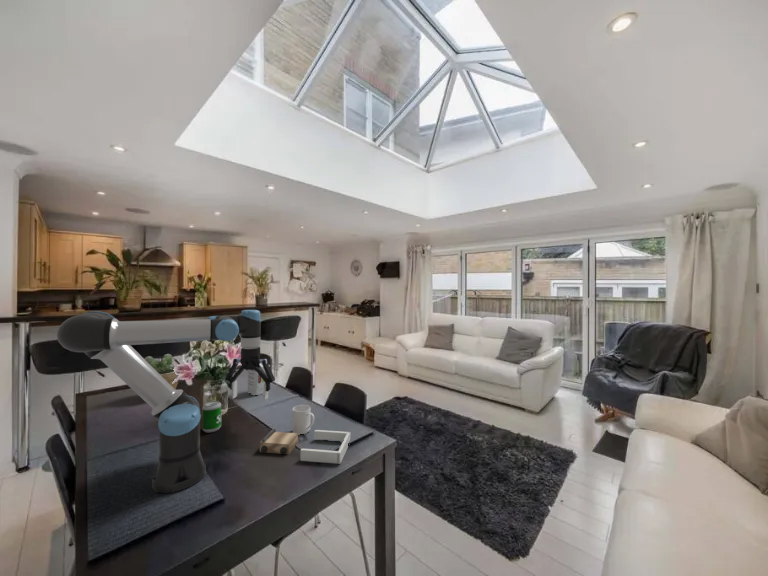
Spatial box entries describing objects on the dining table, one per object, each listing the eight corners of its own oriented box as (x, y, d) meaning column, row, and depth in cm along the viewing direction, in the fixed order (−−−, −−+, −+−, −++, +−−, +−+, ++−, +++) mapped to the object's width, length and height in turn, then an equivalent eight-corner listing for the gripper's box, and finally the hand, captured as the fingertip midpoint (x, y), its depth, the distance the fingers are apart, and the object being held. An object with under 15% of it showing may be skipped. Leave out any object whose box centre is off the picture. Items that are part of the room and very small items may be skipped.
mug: (288, 432, 138) (288, 408, 138) (302, 425, 145) (303, 403, 145) (306, 440, 131) (306, 415, 131) (320, 433, 137) (320, 409, 137)
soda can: (213, 434, 136) (213, 407, 136) (198, 432, 137) (198, 405, 137) (225, 426, 143) (225, 400, 143) (211, 425, 145) (211, 399, 145)
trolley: (259, 453, 121) (259, 439, 121) (271, 440, 131) (271, 428, 131) (288, 455, 120) (288, 442, 120) (298, 442, 130) (298, 429, 130)
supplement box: (256, 396, 182) (256, 368, 182) (247, 393, 187) (247, 365, 187) (270, 391, 190) (270, 364, 190) (261, 389, 195) (261, 362, 195)
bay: (340, 463, 114) (340, 453, 114) (300, 460, 116) (300, 450, 116) (350, 441, 130) (350, 432, 130) (315, 439, 132) (315, 429, 132)
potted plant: (162, 390, 191) (162, 350, 191) (189, 392, 188) (189, 351, 188) (134, 401, 173) (134, 357, 172) (163, 403, 170) (163, 358, 170)
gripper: (283, 346, 131) (282, 396, 131) (227, 344, 133) (226, 393, 133) (275, 349, 123) (275, 402, 124) (216, 347, 125) (215, 399, 126)
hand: (250, 398), depth 128 cm, fingers open, 13 cm apart
